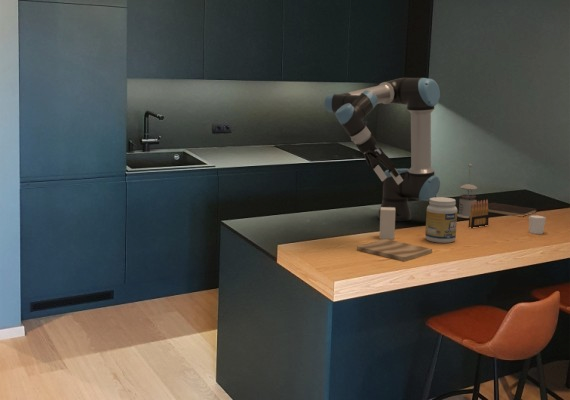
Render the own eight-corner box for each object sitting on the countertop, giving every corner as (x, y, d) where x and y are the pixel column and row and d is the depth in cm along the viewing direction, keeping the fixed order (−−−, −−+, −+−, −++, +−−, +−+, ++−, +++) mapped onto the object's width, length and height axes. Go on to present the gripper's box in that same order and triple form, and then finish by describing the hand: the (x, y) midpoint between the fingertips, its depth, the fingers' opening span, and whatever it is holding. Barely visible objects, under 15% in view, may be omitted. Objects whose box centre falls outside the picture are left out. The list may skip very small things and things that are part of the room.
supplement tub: (449, 245, 282) (452, 203, 279) (420, 241, 289) (422, 200, 286) (459, 239, 293) (462, 198, 290) (431, 235, 299) (433, 195, 296)
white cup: (536, 235, 301) (537, 218, 300) (524, 231, 307) (525, 215, 306) (548, 233, 304) (549, 217, 303) (535, 230, 310) (537, 214, 309)
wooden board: (356, 250, 273) (356, 246, 273) (385, 242, 286) (385, 238, 285) (404, 261, 258) (404, 257, 258) (431, 252, 270) (432, 248, 270)
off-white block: (379, 238, 292) (380, 209, 290) (379, 235, 298) (380, 207, 296) (394, 239, 291) (395, 210, 289) (394, 235, 297) (395, 207, 295)
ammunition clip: (471, 228, 312) (473, 201, 310) (468, 227, 314) (469, 200, 312) (488, 225, 318) (490, 199, 316) (485, 225, 320) (486, 198, 317)
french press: (455, 216, 336) (457, 164, 332) (458, 212, 347) (461, 161, 342) (476, 218, 333) (479, 165, 328) (479, 214, 343) (482, 162, 339)
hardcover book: (522, 218, 338) (522, 213, 337) (477, 211, 353) (478, 206, 352) (536, 213, 349) (536, 208, 349) (492, 206, 364) (492, 202, 364)
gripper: (343, 144, 291) (371, 183, 298) (370, 147, 268) (400, 190, 274) (356, 132, 293) (384, 172, 299) (385, 134, 269) (414, 177, 276)
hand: (392, 180), depth 287 cm, fingers open, 13 cm apart
